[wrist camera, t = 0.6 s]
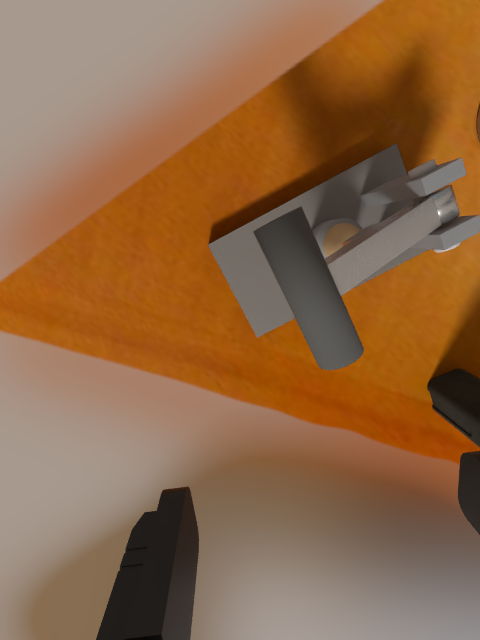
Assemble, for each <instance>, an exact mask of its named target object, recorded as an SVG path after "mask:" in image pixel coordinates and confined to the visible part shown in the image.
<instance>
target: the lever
mask: <svg viewBox="0 0 480 640" xmlns="http://www.w3.org/2000/svg"><path fill="white" fill-rule="evenodd" d="M459 215H460V211H459V208H458V204H457V201H456V198H455V195H454V191H453V188H452V185H446V186H444V187H442V188H440V189H438V190H436V191H434V192H432V193H430V194H429V195H427V196H421V197H417V198H415V199H414V200H412V201H411V202H410V204H409V205H407V206H406V207H404V208H402V209H401V210H399V211H398V212H396V213H395V214H393V215H392V216H390V217H388V218H387V219H385V220H384V221H382V222H380V223H376V224H373V225H369V226H367V227H366V228H364V229H363V230H361V231H360V232H358V233H356V234H355V235H353V236H352V237H350V238H349V239H347V240H345V241H344V242H342V245H343V247H342V248H340V249H339V250H337V251H336V252H334V253H333V254H331V255H329V256H328V257H326V258H325V259H324V256H323V254H322V252H321V250H320V247H319V245H318V243H317V240H316V238H315V236H314V234H313V231H312V229H311V227H310V224H309V222H308V220H307V218H306V215H305V213H304V211H303V208H302V206H301V207H298V208H296V209H294V210H292V211H290V212H288V213H286V214H284V215H282V216H280V217H278V218H276V219H274V220H273V221H271V222H269V223H267V224H265V225H263V226H262V227H260V228H258V229H257V230H255V231H253V232H254V235H255V237H256V239H257V241H258V243H259V245H260V247H261V249H262V251H263V253H264V255H265V257H266V259H267V261H268V263H269V265H270V267H271V269H272V271H273V273H274V276H275V278H276V280H277V282H278V284H279V286H280V288H281V290H282V292H283V294H284V296H285V298H286V300H287V302H288V304H289V306H290V308H291V310H292V312H293V314H294V317H295V319H296V321H297V323H298V325H299V327H300V329H301V331H302V333H303V335H304V337H305V339H306V341H307V343H308V345H309V347H310V349H311V351H312V353H313V355H314V358H315V360H316V362H317V364H318V366H319V367H320V368H322V369H325V370H334V369H339V368H343V367H345V366H348V365H350V364H352V363H353V362H355V361H356V360H357V359H359V358H360V356H361V355H362V354H363V351H364V348H363V346H362V343H361V341H360V339H359V337H358V334H357V332H356V330H355V327H354V325H353V323H352V321H351V318H350V316H349V314H348V311H347V309H346V307H345V305H344V302H343V300H342V298H341V296H342V295H343V294H345V293H346V292H347V291H349V290H350V289H352V288H353V287H355V286H356V285H357V284H359V283H360V282H362V281H363V280H364V279H366V278H367V277H369V276H370V275H371V274H373V273H374V272H376V271H377V270H379V269H380V268H381V267H383V266H384V265H386V264H387V263H388V262H390V261H391V260H393V259H394V258H395V257H397V256H398V255H400V254H401V253H403V252H404V251H405V250H407V249H408V248H410V247H411V246H412V245H414V244H415V243H417V242H418V241H419V240H421V239H422V238H424V237H425V236H426V235H428V234H429V233H431V232H432V231H434V230H435V229H436V228H438V227H439V226H441V225H442V224H445V223H447V222H449V221H451V220H453V219H455V218H456V217H458V216H459Z"/></svg>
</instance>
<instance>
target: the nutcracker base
mask: <svg viewBox="0 0 480 640" xmlns="http://www.w3.org/2000/svg"><path fill="white" fill-rule="evenodd" d="M408 174H409V175H407V172H406V169H405V166H404V163H403V160H402V157H401V154H400V151H399V148H398V146H397V143H396V144H394V145H392V146H390V147H388V148H386V149H384V150H383V151H381V152H379V153H377V154H375V155H373V156H372V157H370V158H368V159H366V160H364V161H362V162H360V163H359V164H357V165H355V166H353V167H351V168H349V169H347V170H346V171H344V172H342V173H340V174H338V175H336V176H334V177H333V178H331V179H329V180H327V181H325V182H323V183H321V184H320V185H318V186H316V187H314V188H312V189H310V190H308V191H307V192H305V193H303V194H301V195H299V196H297V197H295V198H294V199H292V200H290V201H288V202H286V203H284V204H282V205H281V206H279V207H277V208H275V209H273V210H271V211H269V212H268V213H266V214H264V215H262V216H260V217H258V218H256V219H255V220H253V221H251V222H249V223H247V224H245V225H243V226H242V227H240V228H238V229H236V230H234V231H232V232H230V233H229V234H227V235H225V236H223V237H221V238H219V239H217V240H216V241H214V242H212V243H210V244H208V246H209V248H210V250H211V252H212V254H213V255H214V257H215V259H216V261H217V263H218V265H219V267H220V269H221V270H222V272H223V274H224V276H225V278H226V280H227V282H228V284H229V285H230V287H231V289H232V291H233V293H234V295H235V297H236V299H237V300H238V302H239V304H240V306H241V308H242V310H243V312H244V314H245V316H246V317H247V319H248V321H249V323H250V325H251V327H252V329H253V331H254V332H255V334H256V336H257V337H259V336H261V335H263V334H265V333H267V332H269V331H271V330H273V329H275V328H277V327H279V326H281V325H283V324H284V323H286V322H288V321H290V320H292V319H294V318H295V317H294V314H293V312H292V310H291V308H290V306H289V304H288V302H287V300H286V298H285V296H284V294H283V292H282V290H281V288H280V286H279V284H278V282H277V280H276V278H275V276H274V273H273V271H272V269H271V267H270V265H269V263H268V261H267V259H266V257H265V255H264V253H263V251H262V249H261V247H260V245H259V243H258V241H257V239H256V237H255V235H254V232H253V231H255V230H257V229H258V228H260V227H262V226H263V225H265V224H267V223H269V222H271V221H273V220H274V219H276V218H278V217H280V216H282V215H284V214H286V213H288V212H290V211H292V210H294V209H296V208H298V207H301V206H302V208H303V211H304V213H305V215H306V218H307V220H308V222H309V224H310V227H311V229H312V231H313V234H314V236H315V238H316V240H317V243H318V245H319V247H320V250H321V252H322V254H323V256H324V259H325V258H326V257H328V256H329V255H331V254H333V253H334V252H336V251H337V250H339V249H340V248H342V247H343V245H342V242H344V241H345V240H347V239H349V238H350V237H352V236H353V235H355V234H356V233H358V232H360V231H361V230H363V229H364V228H366V227H367V226H369V225H373V224H376V223H380V222H382V221H384V220H385V219H387V218H388V217H390V216H392V215H393V214H395V213H396V212H398V211H399V210H401V209H402V208H404V207H406V206H407V205H409V204H410V202H411V201H412V200H414V199H415V198H416V197H421V196H427V195H429V194H430V193H432V192H434V191H436V190H438V189H440V188H442V187H444V186H446V185H448V184H450V183H451V182H453V181H455V180H457V179H459V178H461V177H463V176H465V175H467V174H466V170H465V167H464V163H463V160H462V158H459V159H456V160H452V161H449V162H446V163H443V164H440V165H436V162H435V159H433V160H431V161H428V162H426V163H424V164H421V165H419V166H417V167H415V168H413V169H412V170H410V171H408ZM479 232H480V218H479V215H473V216H460V217H456V218H455V219H453V220H451V221H449V222H447V223H445V224H442V225H441V226H439V227H438V228H436V229H435V230H434V231H432V232H431V233H429V234H428V235H426V236H425V237H424V238H422V239H421V240H419V241H418V242H417V243H415V244H414V245H412V246H411V247H410V248H408V249H407V250H405V251H404V252H403V253H401V254H400V255H398V256H397V257H395V258H394V259H393V260H391V261H390V262H388V263H387V264H386V265H384V266H383V267H381V268H380V269H379V270H377V271H376V272H374V273H373V274H371V275H370V276H369V277H367V278H366V279H364V280H363V281H362V282H360V283H359V284H357V285H356V286H355V287H357V286H359V285H360V284H362V283H364V282H366V281H368V280H370V279H372V278H374V277H376V276H378V275H380V274H382V273H384V272H386V271H388V270H390V269H392V268H394V267H396V266H398V265H399V264H401V263H403V262H405V261H407V260H409V259H411V258H413V257H415V256H417V255H419V254H421V253H423V252H425V251H427V250H429V249H434V251H435V252H444V251H448V250H451V249H453V248H455V247H457V246H459V245H460V244H461V242H462V241H464V240H466V239H467V238H469V237H471V236H473V235H475V234H477V233H479ZM355 287H353V288H355ZM353 288H352V289H353ZM350 290H351V289H350Z"/></svg>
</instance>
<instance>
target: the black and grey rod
mask: <svg viewBox="0 0 480 640" xmlns="http://www.w3.org/2000/svg"><path fill="white" fill-rule="evenodd" d="M427 388H428V391H430V394H431V398H432V401H433V405H434V406H433V409H434V410H435V411H436V412H437V413H438V414H439V415H441V416H442V417H443V418H444V419H445V420H447V421H448V422H449V423H450V424H452V425H453V426H454V427H455V428H457V429H458V430H459V431H460V432H462V433H463V434H464V435H465V436H466V437H468V438H469V439H470V440H471V441H473V442H474V443H475V444H476V445H478V446H479V447H480V379H479V378H477V377H475V376H474V375H472V374H470V373H468V372H466V371H465V370H463V369H456V370H453V371H451V372H448V373H446V374H443V375H441V376H438V377H436V378H433V379H432V380H431V381H430V382H429V384H428V387H427Z"/></svg>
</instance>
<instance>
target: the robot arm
mask: <svg viewBox="0 0 480 640" xmlns="http://www.w3.org/2000/svg"><path fill="white" fill-rule="evenodd" d="M477 131H478V137H479V141H480V108H479V113H478V118H477ZM458 500H459V504H460V507H461V509H462V511H463V513H464V515H465V517H466V518H467V520H468V521H469V522H470V523H471V525H472V526H473V527H474V528H475V530H476V531H477V532H478V533H479V534H480V451H475V452H467V453H463V454H462V455H461V458H460V471H459V485H458ZM198 553H199V534H198V526H197V521H196V516H195V511H194V506H193V501H192V496H191V492H190V488H189V487H181V488H174V489H166V490H163V491H162V494H161V497H160V500H159V504H158V508H157V511H152V512H145V513H144V514H143V515H142V517H141V518H140V519H139V521H138V522H137V524H136V525H135V526H134V528H133V529H132V531H131V534H130V537H129V540H128V543H127V547H126V552H125V554H124V556H123V559H122V562H121V565H120V571H118V574H117V577H116V580H115V583H114V586H113V590H112V592H111V595H110V598H109V601H108V604H107V608H106V611H105V614H104V617H103V620H102V623H101V626H100V629H99V632H98V635H97V638H96V640H190V635H191V625H192V615H193V604H194V594H195V583H196V573H197V563H198Z"/></svg>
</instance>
